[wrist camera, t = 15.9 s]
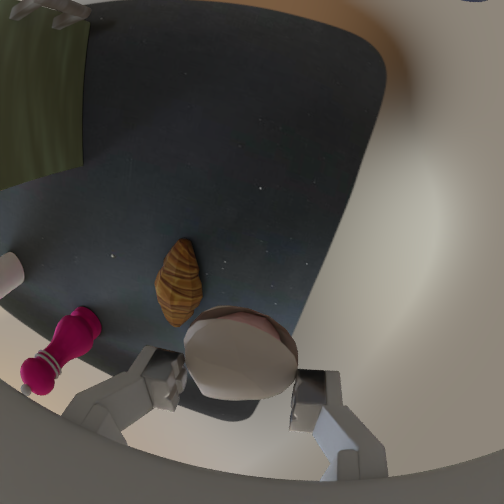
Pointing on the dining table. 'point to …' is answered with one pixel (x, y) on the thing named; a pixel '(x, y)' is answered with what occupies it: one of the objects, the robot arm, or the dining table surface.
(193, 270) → the croissant
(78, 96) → the cupboard door
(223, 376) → the clam shell
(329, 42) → the dining table surface
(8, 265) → the cylindrical container
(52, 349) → the pepper mill
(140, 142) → the dining table surface
